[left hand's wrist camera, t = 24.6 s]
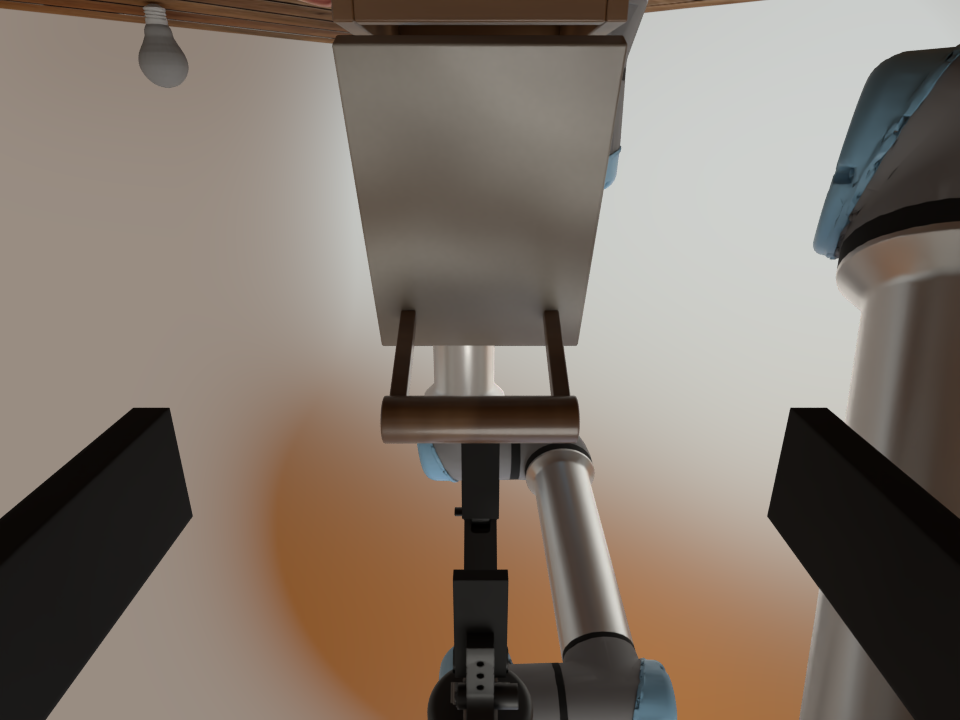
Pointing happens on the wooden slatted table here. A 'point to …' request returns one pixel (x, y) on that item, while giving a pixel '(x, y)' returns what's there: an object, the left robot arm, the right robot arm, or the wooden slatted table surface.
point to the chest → (480, 17)
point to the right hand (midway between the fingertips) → (480, 494)
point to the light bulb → (161, 51)
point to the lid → (479, 209)
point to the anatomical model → (319, 2)
